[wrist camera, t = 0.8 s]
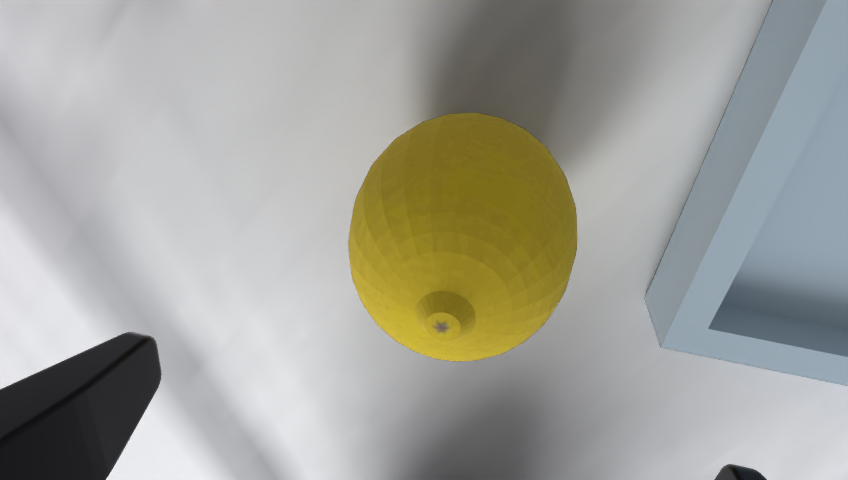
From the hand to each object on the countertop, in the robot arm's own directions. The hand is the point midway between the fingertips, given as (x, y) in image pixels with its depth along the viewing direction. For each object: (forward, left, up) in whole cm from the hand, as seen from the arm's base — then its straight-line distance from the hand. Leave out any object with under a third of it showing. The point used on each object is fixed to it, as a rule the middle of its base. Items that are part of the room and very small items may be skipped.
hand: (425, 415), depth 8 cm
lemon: (0, 0, -10) cm, 10 cm away
